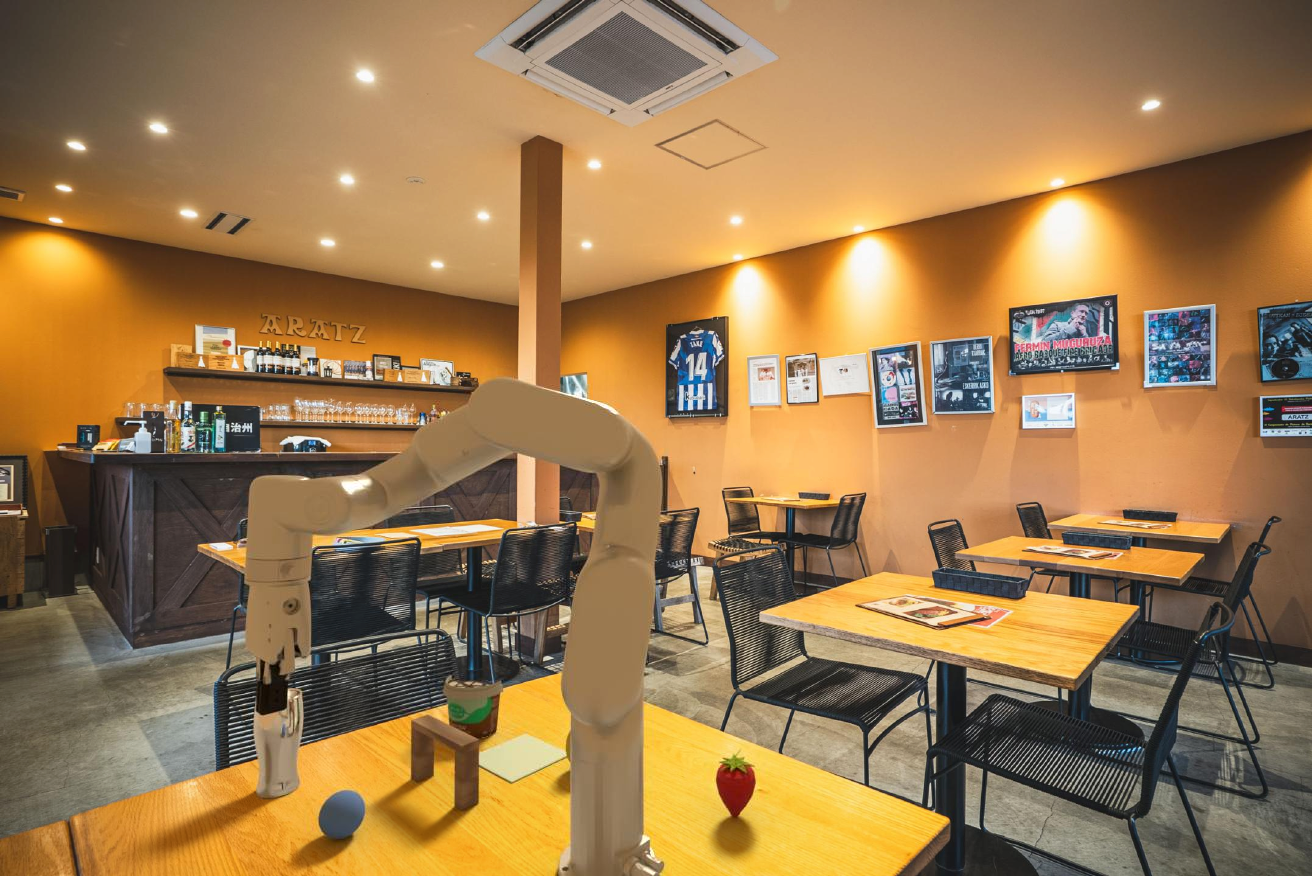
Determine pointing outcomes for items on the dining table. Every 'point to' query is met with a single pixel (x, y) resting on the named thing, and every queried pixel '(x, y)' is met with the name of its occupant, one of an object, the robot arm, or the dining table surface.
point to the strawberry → (735, 783)
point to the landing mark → (519, 757)
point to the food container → (473, 706)
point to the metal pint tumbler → (279, 747)
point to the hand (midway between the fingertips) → (271, 710)
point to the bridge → (465, 757)
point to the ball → (341, 814)
